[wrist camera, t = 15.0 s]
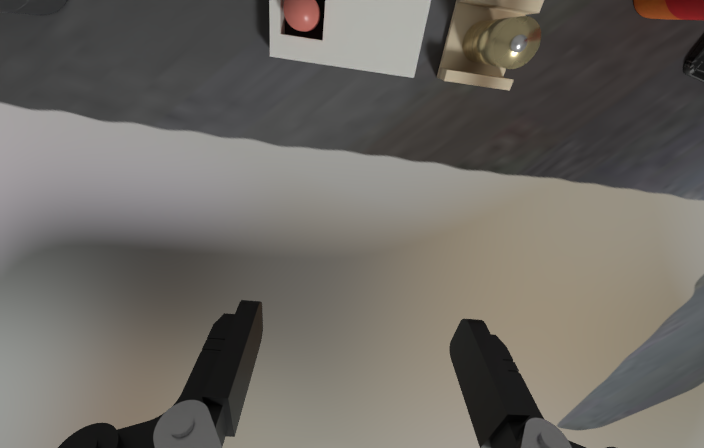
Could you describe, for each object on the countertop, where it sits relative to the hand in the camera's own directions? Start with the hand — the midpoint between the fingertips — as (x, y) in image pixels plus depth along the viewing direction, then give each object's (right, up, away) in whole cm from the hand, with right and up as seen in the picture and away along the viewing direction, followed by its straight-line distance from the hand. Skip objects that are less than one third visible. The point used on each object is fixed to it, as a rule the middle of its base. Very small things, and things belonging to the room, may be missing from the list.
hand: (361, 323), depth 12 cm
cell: (+13, +23, +18) cm, 32 cm away
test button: (-5, +25, +17) cm, 30 cm away
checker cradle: (0, +24, +18) cm, 30 cm away
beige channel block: (+13, +23, +19) cm, 32 cm away
